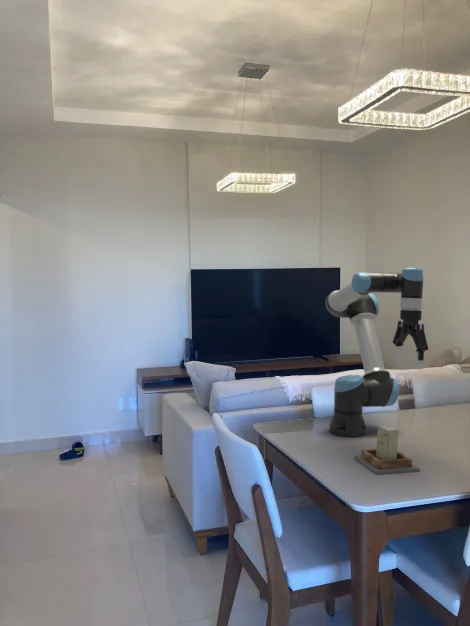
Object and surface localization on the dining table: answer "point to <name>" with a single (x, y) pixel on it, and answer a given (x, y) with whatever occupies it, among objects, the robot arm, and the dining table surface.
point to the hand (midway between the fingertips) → (408, 366)
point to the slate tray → (385, 471)
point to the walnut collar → (386, 464)
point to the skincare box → (387, 443)
